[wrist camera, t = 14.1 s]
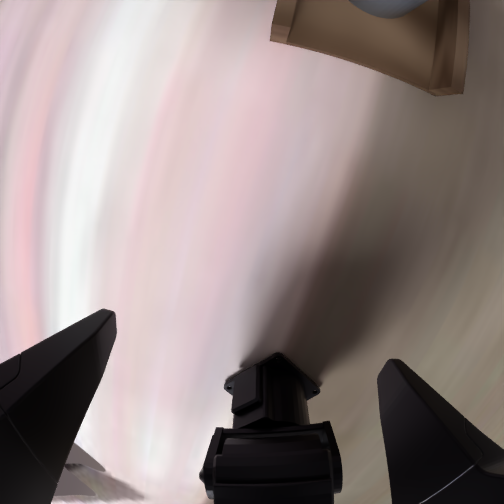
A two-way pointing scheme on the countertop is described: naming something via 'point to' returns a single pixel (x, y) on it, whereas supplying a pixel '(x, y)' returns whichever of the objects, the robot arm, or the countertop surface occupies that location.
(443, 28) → the shelf bay
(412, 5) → the blue-grey tall cylinder
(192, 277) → the countertop surface
